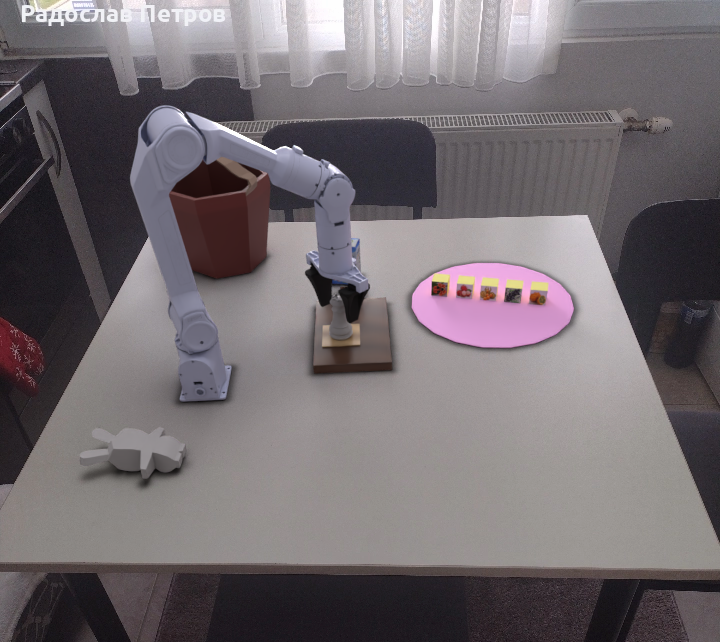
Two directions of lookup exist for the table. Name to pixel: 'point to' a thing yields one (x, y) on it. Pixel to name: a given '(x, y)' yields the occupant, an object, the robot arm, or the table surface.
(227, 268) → the bucket
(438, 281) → the platter
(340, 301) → the rook chess piece
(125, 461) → the bunny figurine
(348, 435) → the table surface
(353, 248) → the medicine box
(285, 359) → the table surface
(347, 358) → the cutting board
